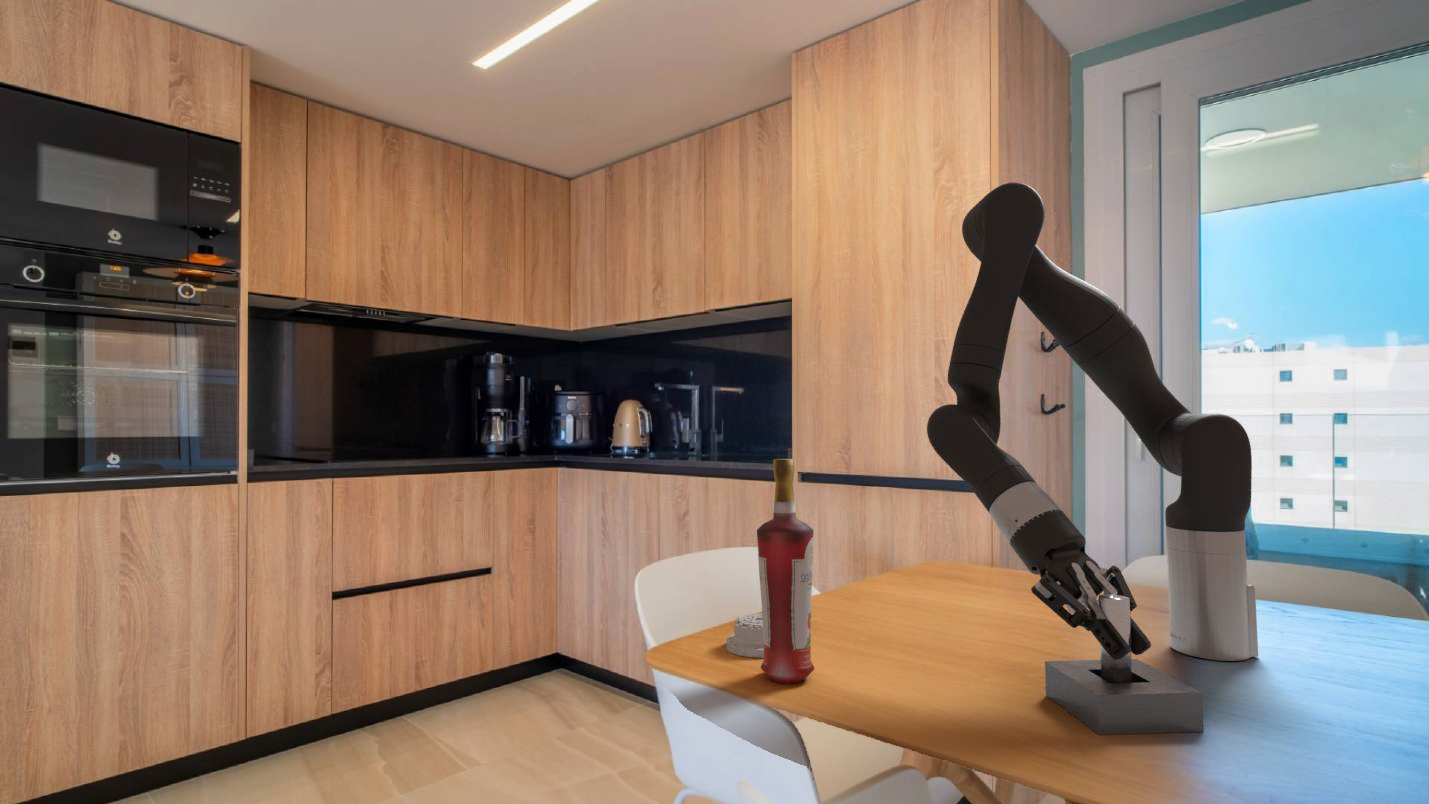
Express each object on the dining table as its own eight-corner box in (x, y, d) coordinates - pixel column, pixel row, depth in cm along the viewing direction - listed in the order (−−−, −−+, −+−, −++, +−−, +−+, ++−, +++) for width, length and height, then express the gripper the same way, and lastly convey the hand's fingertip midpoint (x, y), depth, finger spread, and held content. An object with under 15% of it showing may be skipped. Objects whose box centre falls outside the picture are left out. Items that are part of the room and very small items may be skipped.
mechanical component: (720, 658, 101) (791, 661, 99) (720, 626, 101) (790, 629, 99) (732, 638, 111) (797, 641, 109) (732, 609, 111) (796, 611, 109)
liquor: (768, 665, 97) (764, 458, 98) (821, 671, 94) (817, 458, 95) (751, 683, 90) (748, 460, 91) (808, 690, 87) (804, 460, 89)
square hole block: (1137, 693, 85) (1136, 658, 85) (1203, 731, 74) (1201, 692, 74) (1046, 695, 84) (1044, 661, 85) (1098, 734, 73) (1097, 695, 74)
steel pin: (1122, 683, 81) (1119, 594, 81) (1138, 693, 78) (1135, 600, 78) (1095, 684, 81) (1093, 594, 81) (1111, 693, 78) (1108, 600, 78)
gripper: (1012, 511, 84) (1115, 644, 72) (1091, 504, 90) (1197, 626, 79) (978, 550, 88) (1069, 681, 77) (1055, 541, 94) (1150, 661, 83)
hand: (1133, 652), depth 78 cm, fingers closed on steel pin, 3 cm apart
